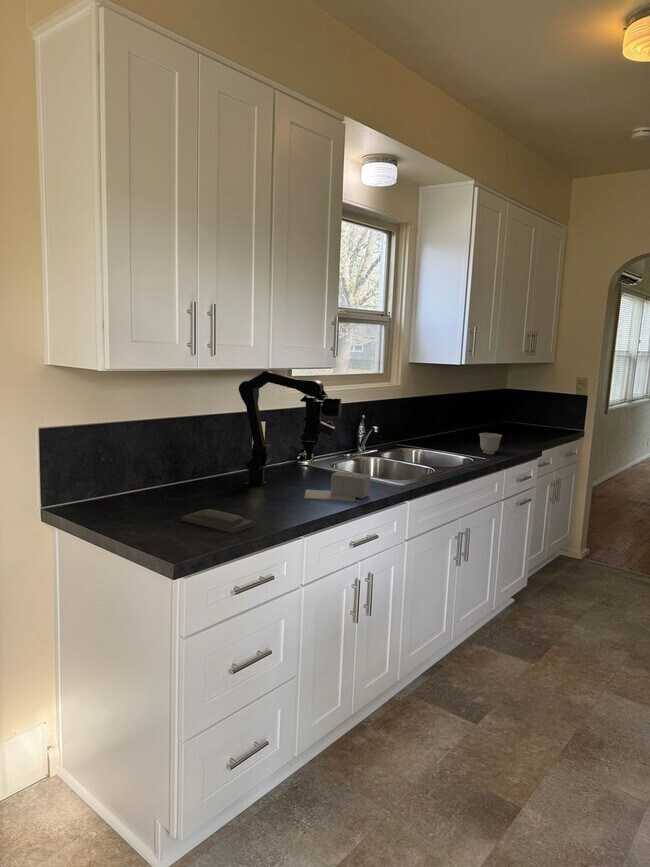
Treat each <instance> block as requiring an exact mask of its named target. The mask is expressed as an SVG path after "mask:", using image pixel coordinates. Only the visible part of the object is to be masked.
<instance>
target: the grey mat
mask: <svg viewBox="0 0 650 867" xmlns="http://www.w3.org/2000/svg"><path fill="white" fill-rule="evenodd" d="M304 492H305V493H304V497H303V498H304V500H314V501H315V500H318V501H319V500H321V501H334V500H338V502H354V501H355V502H356V497H350V496H343V495H337V494H331V490H320V489H319V490H318V489H305V491H304Z"/></svg>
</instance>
